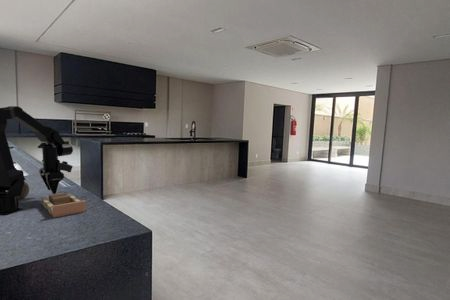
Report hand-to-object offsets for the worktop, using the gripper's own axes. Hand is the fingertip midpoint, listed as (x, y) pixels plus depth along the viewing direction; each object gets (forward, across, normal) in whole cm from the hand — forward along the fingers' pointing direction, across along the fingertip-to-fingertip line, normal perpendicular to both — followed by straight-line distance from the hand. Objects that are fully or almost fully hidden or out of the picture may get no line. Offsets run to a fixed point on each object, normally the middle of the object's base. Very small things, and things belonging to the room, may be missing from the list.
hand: (52, 191), depth 124 cm
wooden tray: (+3, -18, 0) cm, 18 cm away
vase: (+3, +10, +10) cm, 14 cm away
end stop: (+3, -29, 0) cm, 29 cm away
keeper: (+3, -13, 0) cm, 13 cm away
